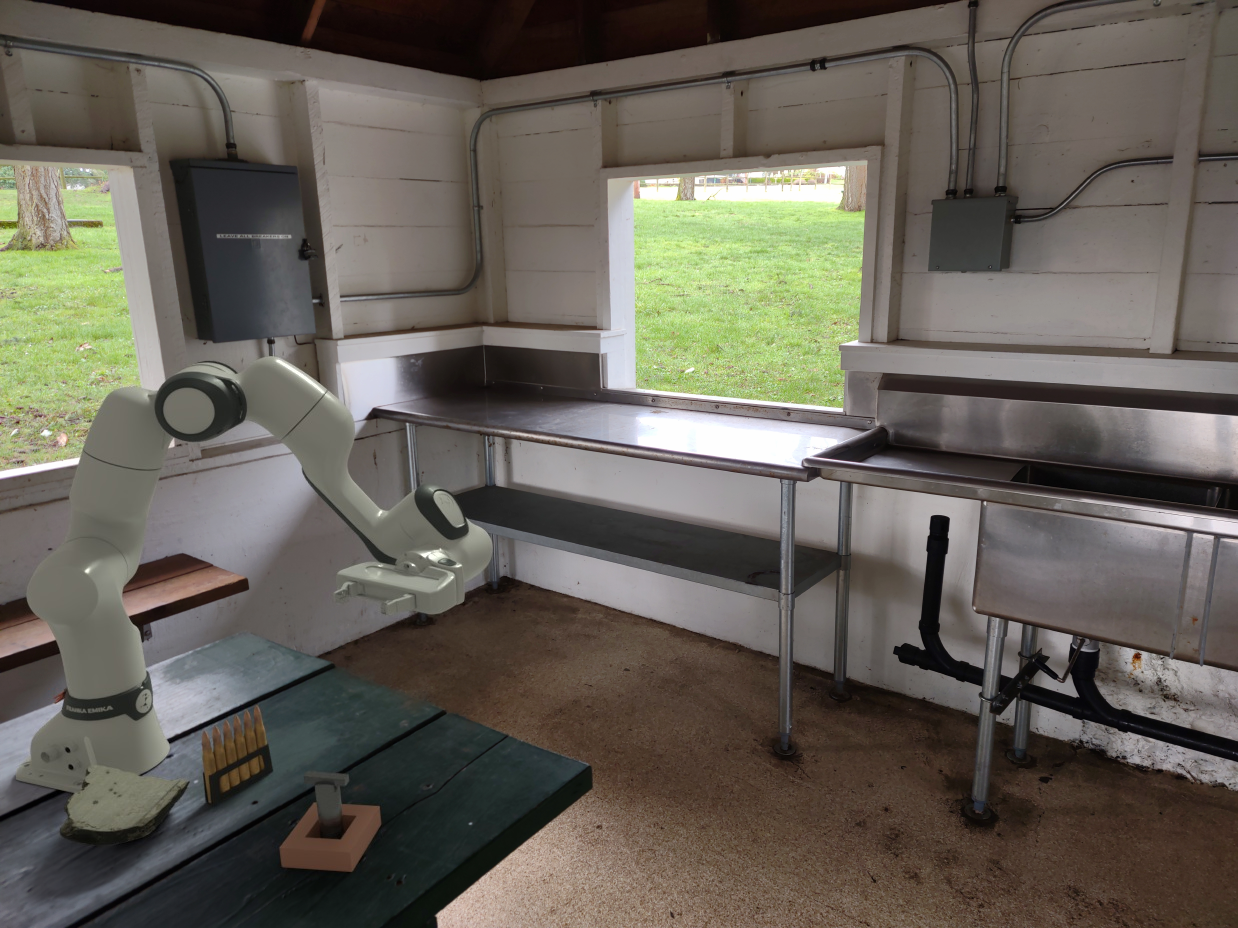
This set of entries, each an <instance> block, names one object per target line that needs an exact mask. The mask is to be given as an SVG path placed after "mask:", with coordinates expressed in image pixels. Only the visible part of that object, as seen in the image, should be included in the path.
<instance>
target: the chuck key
mask: <svg viewBox="0 0 1238 928" xmlns="http://www.w3.org/2000/svg"><path fill="white" fill-rule="evenodd" d="M349 776H350V775H349V773H339V772H327V771H326V772H325V771H314V770H308V771H306V773H305V774H304V775H303V781H304V782H303V783H304V784H309V785H310V784H311V785H312V784H313V785H314V792H315V800H316V802H317V812H318V821H319V830H320V838H323V839H339V840H341V839H342V837H343V836H344V834H345V833H344V825H343V815H342V805H341V804H342V796H341V787H346V786H347V785H348V783H349V782H350V777H349Z"/></svg>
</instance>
